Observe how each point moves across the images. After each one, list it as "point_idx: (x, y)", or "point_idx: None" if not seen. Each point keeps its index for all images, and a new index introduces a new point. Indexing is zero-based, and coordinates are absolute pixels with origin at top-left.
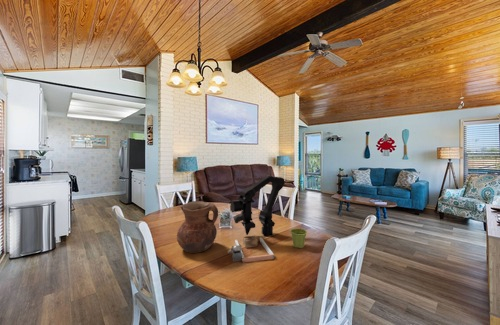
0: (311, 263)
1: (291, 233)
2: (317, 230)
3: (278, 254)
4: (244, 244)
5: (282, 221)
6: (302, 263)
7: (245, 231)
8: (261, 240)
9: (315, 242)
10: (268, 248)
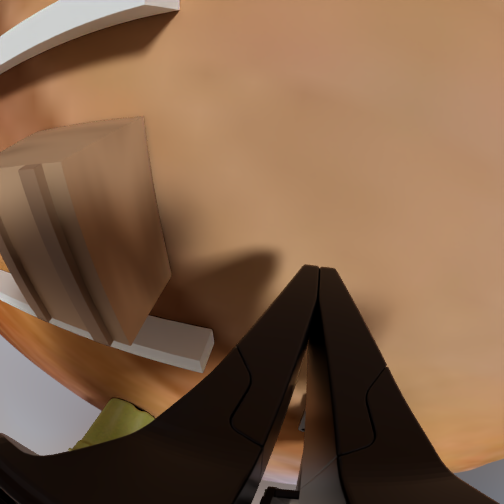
0: (19, 349)
1: None
2: (287, 482)
3: None
4: (59, 131)
5: (458, 463)
6: (8, 332)
7: (328, 313)
8: None
9: None
10: (13, 302)
